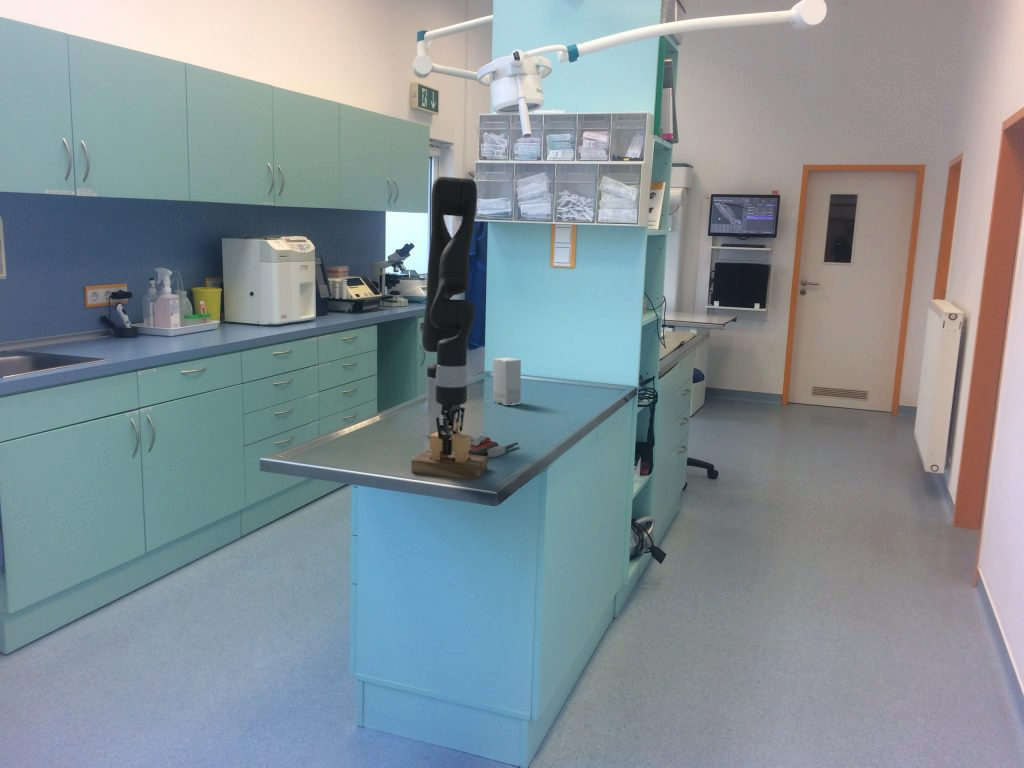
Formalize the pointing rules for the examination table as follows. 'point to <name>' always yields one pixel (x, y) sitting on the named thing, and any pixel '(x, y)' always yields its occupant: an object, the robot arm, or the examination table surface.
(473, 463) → the wooden socket block
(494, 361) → the skincare box
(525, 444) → the examination table surface
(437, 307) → the robot arm
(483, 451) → the red grey pronged tool
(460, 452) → the tan arch block
